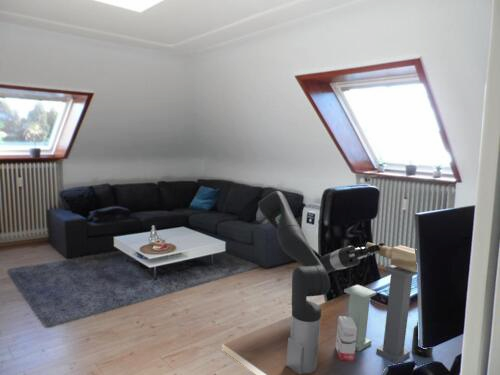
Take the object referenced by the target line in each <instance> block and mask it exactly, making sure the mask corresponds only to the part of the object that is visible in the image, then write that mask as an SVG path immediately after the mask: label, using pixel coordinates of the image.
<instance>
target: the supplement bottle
mask: <svg viewBox="0 0 500 375" xmlns="http://www.w3.org/2000/svg"><path fill="white" fill-rule="evenodd" d="M411 351H412V353H414V355H416V356H417V357H421V358H431V357H432V356H433V352H434V347H433V348H427V349H423V348H421V347H419V346H418V321H417V323H416V325H415V326H414V327H413V330H412V342H411Z"/></svg>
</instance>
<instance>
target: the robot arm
mask: <svg viewBox="0 0 500 375" xmlns="http://www.w3.org/2000/svg"><path fill="white" fill-rule="evenodd" d="M257 206H258V209H259V211H260V212H261V214H262V215H263V216H264V218H265V219H266V220H267V222H268V223H269V224H270V225H271V227H273V229H274V230H275V231H276V238H277V240H278V242H279V245H280V248H281V249H282V250H283V252H284V253H285V254H286V255H288V256H290V258H292V259H293V260H295V261H297V263H299V264H301V266H297V267H295V268H293V271H292V274H291V275H292V277H291V320H290V336H289V337H288V338H287V345H286V346H287V347H286V349H287V350H286V360H285V366H286V367H288V368H290V369H291V370H293V371H294V372H295V373H297V374H298V375H302V374H311V373H314V372H315V371H316V370H317V367H318V357H319V356H318V355H319V345H320V344H319V343H320V334H321V333H320V331H321V320H322V308H321V307H320V305H318V304H316V303H315V302H313V301H310V300H307V297H319V296H324V295H326V294H328V293H329V292H330V289H331V282H330V276H329V273H331V272H336V271H339V270H344V269H347V268H351V267H354V266H358V265H359V264H360V263H361V259H364V258H367V257H369V256H373V254H375V253H374V252H376V251H379V250H380V247H379V245H380V246H383V245H384V246H386V244H385V242H381V243H376V245H373V246H370V247H366V248H365V246H360V247H355V246H354V245H348V246H345V247H342V248H339V249H336V250H334V251H332V252H329V253H327V254H324V255H321V254H320V253H318V252H317V251H316V250H315V249H314V248H312V247H311V245H310V243H309V242H308V239H307V237H306V236H305V234H304V231H303V229H302V228H301V226H300V225H299V223H298V221H297V219H296V217H295V216H294V214H293V212H292V208H291V207H290V205H289V202H288V199H287V198H286V197H285V195H284V194H283V192H281V191H279V190H275V191H273V192H271V193H269V194H268V195H267V196H265V197H263V198H262V199H260V200H259V201H258V203H257ZM279 216H280V218H279V220H278V219H277V217H279Z"/></svg>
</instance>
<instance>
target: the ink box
mask: <svg viewBox="0 0 500 375" xmlns="http://www.w3.org/2000/svg"><path fill="white" fill-rule="evenodd" d="M336 330H337V331H336V341H335V348H336V352H337V355H338V357H339V358H338V359H339V360H340V361H350V362H353V361H355V355H356V350H355V344H356V334H357V327H356V325H355V323H354V321H353V319H352V317H348V316H344V315H343V316H342V315H339V316H338V319H337V329H336Z"/></svg>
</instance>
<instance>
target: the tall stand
mask: <svg viewBox="0 0 500 375" xmlns="http://www.w3.org/2000/svg"><path fill="white" fill-rule="evenodd" d="M384 270H385V271H387V272H389V273H390V282H389V288H388V289H389V290H388V300H387V307H386V317H385V325H384V326H385V327H384V336H383V343H382V344H381V345H380V346H378V347H376V353H377V354H379V355H381V356H383V357H384V358H386V359H387V360H391V361H393V362H394V363H396V364H399V363H400V362H402V361H403V360H405V359H406V358H408V357H409V356H410V355H411V351H410V350H408V349H406V348H405V345H406V344H405V343H406V335H407V334H406V333H407V326H408V318H409V311H410V310H409V308H410V302H411V301H410V300H411V291H412V284H413V283H412V282H413V276H415V275H417V271H414V272H413V271H409V270H406V269H403V268H400V267H397V266H394V265H391V264H390V265H388V266H385V269H384Z"/></svg>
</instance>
